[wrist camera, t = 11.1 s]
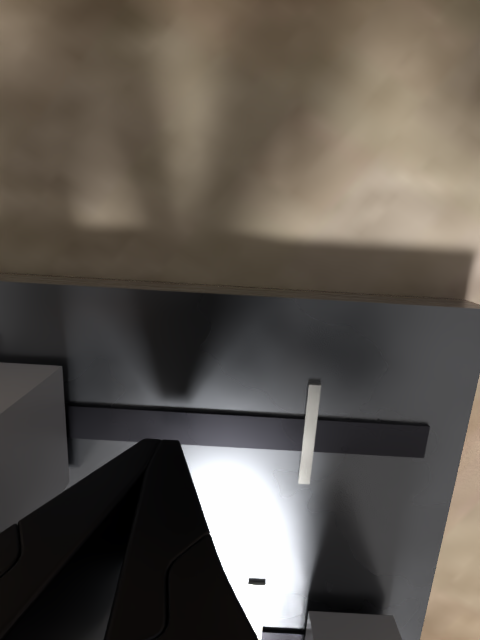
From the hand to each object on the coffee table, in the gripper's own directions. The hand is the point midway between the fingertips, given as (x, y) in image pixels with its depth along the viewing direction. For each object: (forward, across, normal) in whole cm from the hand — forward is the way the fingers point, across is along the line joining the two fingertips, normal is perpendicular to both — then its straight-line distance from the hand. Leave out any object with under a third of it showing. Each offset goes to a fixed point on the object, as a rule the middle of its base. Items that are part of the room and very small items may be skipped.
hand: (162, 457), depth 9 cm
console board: (+2, +2, +3) cm, 4 cm away
